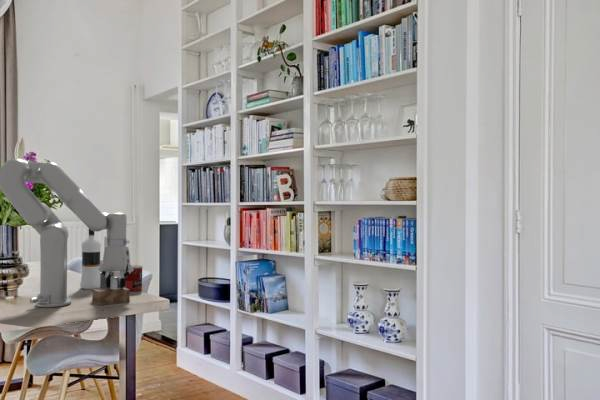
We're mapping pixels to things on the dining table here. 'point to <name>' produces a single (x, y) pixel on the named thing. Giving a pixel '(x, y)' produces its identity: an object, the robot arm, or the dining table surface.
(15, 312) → the dining table surface
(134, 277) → the canned food
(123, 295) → the bore block
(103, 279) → the square bit
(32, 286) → the dining table surface
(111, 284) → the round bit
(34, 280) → the dining table surface
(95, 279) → the vodka
